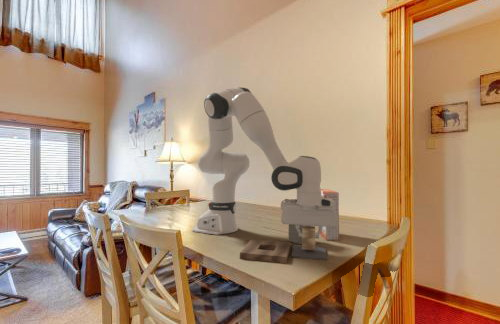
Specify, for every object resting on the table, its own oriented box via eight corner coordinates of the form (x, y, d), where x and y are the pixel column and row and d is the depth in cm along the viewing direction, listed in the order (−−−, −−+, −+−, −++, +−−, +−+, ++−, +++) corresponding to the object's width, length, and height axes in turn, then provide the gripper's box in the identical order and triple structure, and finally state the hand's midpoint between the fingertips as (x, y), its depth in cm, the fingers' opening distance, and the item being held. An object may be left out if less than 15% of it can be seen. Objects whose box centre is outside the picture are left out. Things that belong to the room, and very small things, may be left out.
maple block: (302, 249, 90) (302, 228, 90) (302, 245, 94) (302, 225, 94) (315, 250, 88) (315, 228, 89) (315, 246, 93) (315, 226, 93)
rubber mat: (291, 256, 87) (291, 255, 87) (293, 246, 99) (293, 244, 99) (327, 260, 84) (327, 258, 84) (325, 248, 96) (325, 247, 96)
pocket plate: (239, 258, 85) (239, 252, 85) (251, 244, 101) (251, 239, 101) (286, 263, 81) (286, 256, 81) (290, 247, 97) (290, 242, 97)
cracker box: (317, 232, 121) (317, 188, 121) (330, 232, 120) (329, 189, 121) (325, 240, 107) (325, 191, 107) (339, 240, 106) (339, 191, 107)
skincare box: (298, 237, 111) (298, 202, 112) (312, 240, 106) (312, 203, 107) (287, 241, 105) (287, 203, 106) (301, 245, 100) (301, 205, 101)
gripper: (279, 199, 91) (279, 237, 91) (338, 202, 86) (338, 242, 86) (281, 197, 97) (281, 233, 97) (336, 199, 92) (336, 237, 92)
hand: (308, 237), depth 91 cm, fingers closed on maple block, 4 cm apart
